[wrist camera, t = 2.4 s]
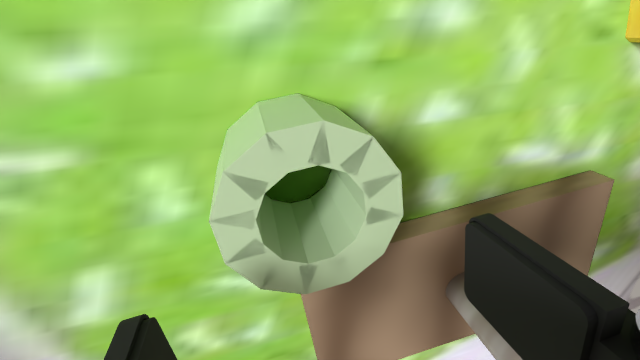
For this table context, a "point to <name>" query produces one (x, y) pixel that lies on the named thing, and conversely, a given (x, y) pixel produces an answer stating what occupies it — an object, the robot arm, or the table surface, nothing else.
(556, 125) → the table surface
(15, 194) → the table surface
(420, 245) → the post stand
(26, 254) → the table surface
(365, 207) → the ring
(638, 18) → the dish sponge
